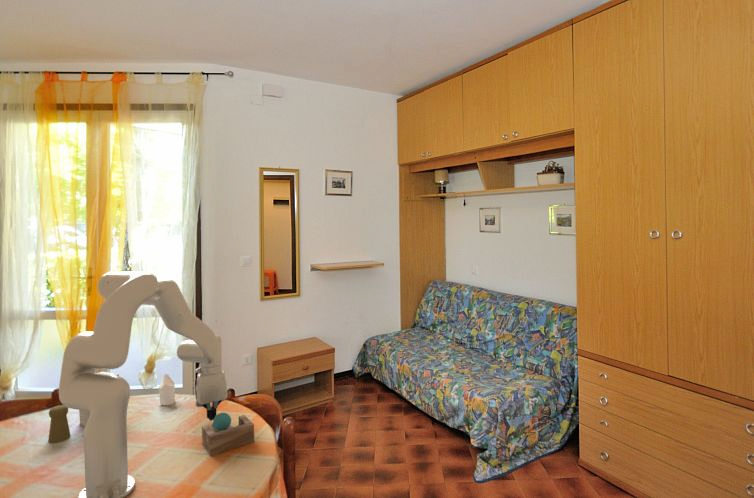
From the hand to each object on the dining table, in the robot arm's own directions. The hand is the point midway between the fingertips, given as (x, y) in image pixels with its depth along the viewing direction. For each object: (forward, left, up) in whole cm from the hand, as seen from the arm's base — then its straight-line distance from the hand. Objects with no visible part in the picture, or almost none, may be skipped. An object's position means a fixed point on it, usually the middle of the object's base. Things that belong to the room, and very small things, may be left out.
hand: (211, 418), depth 150 cm
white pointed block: (+30, +9, -2) cm, 31 cm away
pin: (-12, -3, 0) cm, 13 cm away
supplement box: (+27, +32, -2) cm, 42 cm away
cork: (+20, +44, -2) cm, 48 cm away
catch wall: (-18, 0, -1) cm, 19 cm away
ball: (-8, -1, +2) cm, 8 cm away
